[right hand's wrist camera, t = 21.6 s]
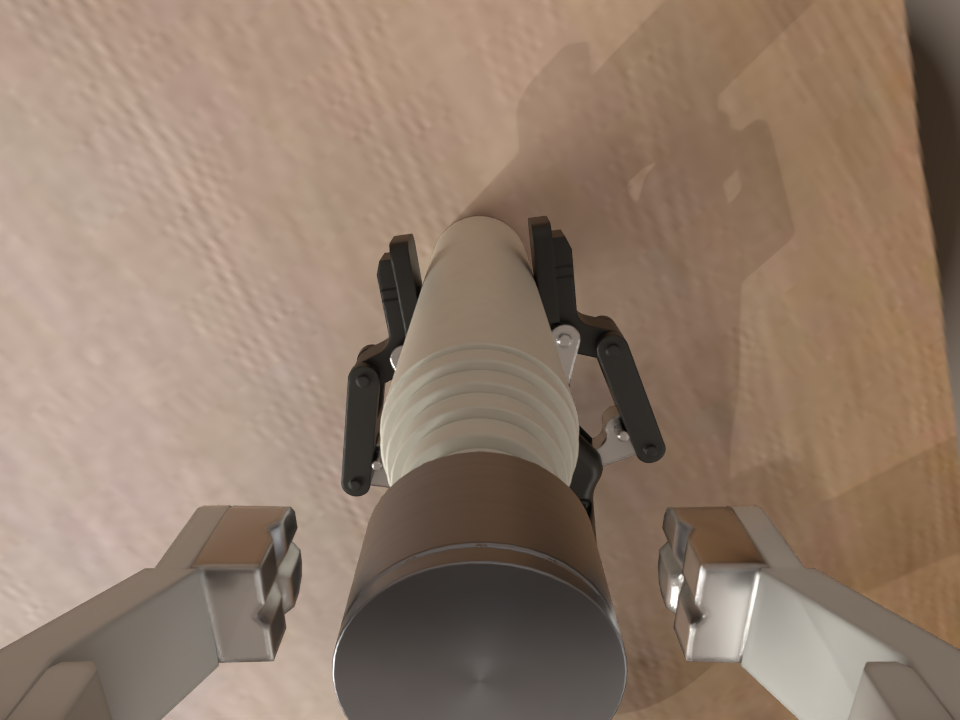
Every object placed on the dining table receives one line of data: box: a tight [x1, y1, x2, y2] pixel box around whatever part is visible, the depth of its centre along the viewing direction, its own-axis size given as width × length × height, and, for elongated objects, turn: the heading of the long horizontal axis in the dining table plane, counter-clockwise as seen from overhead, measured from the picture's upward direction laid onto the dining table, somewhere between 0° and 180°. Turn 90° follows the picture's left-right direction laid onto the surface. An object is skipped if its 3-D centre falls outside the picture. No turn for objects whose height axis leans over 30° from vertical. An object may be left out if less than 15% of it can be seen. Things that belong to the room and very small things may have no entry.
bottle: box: [380, 216, 579, 487], centre depth 19 cm, size 4×4×23 cm
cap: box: [332, 451, 627, 720], centre depth 9 cm, size 4×4×3 cm
